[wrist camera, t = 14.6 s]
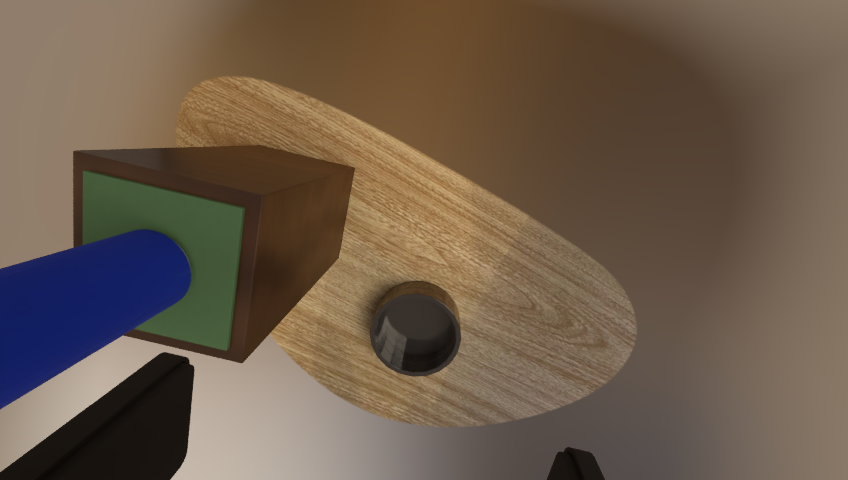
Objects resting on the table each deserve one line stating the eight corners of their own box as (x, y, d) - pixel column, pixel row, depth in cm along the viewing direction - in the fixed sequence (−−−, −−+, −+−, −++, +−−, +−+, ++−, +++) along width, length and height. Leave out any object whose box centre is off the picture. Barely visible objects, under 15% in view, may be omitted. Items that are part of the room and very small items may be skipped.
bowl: (385, 272, 51) (380, 284, 47) (468, 292, 51) (470, 306, 47) (369, 346, 54) (362, 365, 50) (448, 365, 54) (448, 385, 50)
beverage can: (121, 217, 24) (-352, 330, 10) (201, 239, 25) (-152, 382, 10) (116, 292, 26) (-308, 487, 11) (193, 312, 26) (-132, 532, 11)
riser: (260, 145, 48) (72, 150, 24) (355, 167, 48) (263, 195, 24) (249, 237, 51) (72, 324, 27) (338, 258, 51) (242, 364, 27)
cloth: (88, 170, 24) (82, 170, 24) (245, 207, 24) (242, 208, 24) (87, 314, 27) (82, 317, 26) (229, 347, 27) (226, 351, 26)
